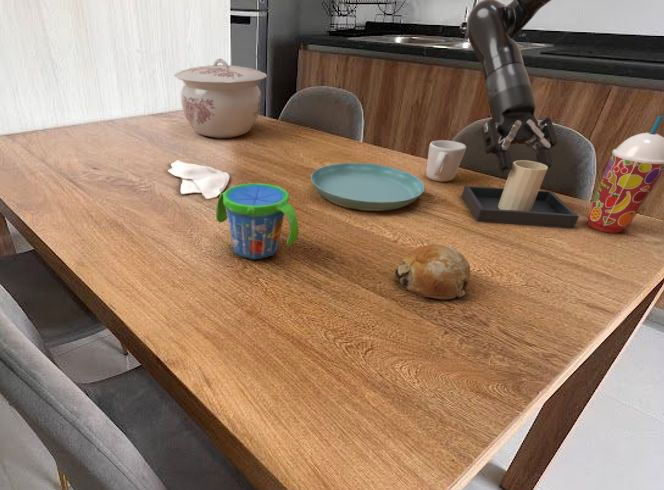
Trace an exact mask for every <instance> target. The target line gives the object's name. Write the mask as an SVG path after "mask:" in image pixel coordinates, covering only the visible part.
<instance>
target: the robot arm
mask: <svg viewBox="0 0 664 490" xmlns="http://www.w3.org/2000/svg"><path fill="white" fill-rule="evenodd" d="M551 1H552V0H511V2H510V3H508V4H504V3H503V2H500V1H499V0H481V1H479V2H478V3H476V5H474V6H473V8H472V9H471V10H470V12H469V14H468V17H467V21H466V34H467V38H468V41H469V44H470V45H471V48H472V49H473V51H474V53H475V56H476V57H477V59H478V61H479V63H480V65H481V68H482V75H483V78H484V83H485V93H486V98H487V102H488V107H489V111H490V116H491V118H490V119H489V120H488V121H487V122H486V123H484V124H483V125H482V126H481V128H480V129H481V135H482V141H483V142H482V143H483V147H484V152H485V153H486V154H487V155H488V154H493V155H494V156H495V157H496V161H497V165H498V169H499V170H500V171H501V173H502V174H507V173H508V172H510V170H511V169H512V168H513V166H512V164H513V162H512V158H511V153H510V150H508V149H509V147H510V145H514V144H518V145H523V144H524V145H525V146H526V147H527V148H529V149H530V148H531V149H532V151H534V152H535V153H536V155H535V156H536V162H539V163H542V164H545V165H546V166H548V169H550V168H551V167H552V164H553V160H552V156H551V151H550V150H551V149H552V148H553V147H555V146H557V145H558V144H559V141H558V138H557V133H556V131H555V128H554V125H553V121H552V119H551V117H549V116H547V117H545V118H544V119H539V120H538V119H537V118H536V116H535V111H536V107H537V106H536V105H537V104H536V101H535V97H534V93H533V89H532V85H531V81H530V76H529V74H528V71H527V69H526V66H525V63H524V59H523V54H522V51H521V48H520V46H519V44H518V43H517V42H516V41H515V40H514V39H513V38H515V37H516V36H517V35H518V34H519V33H520V32H521V31H522V30H523V28H525V26H526V25H528V23H529V22H530V21H531V20H532V19H533V18H534V17H535V16H536V14H537V13H538V12H539V10H540V9H542V8H543V7H544V6H546V5H547V4H548V3H550V2H551ZM498 134H499V136H500V137H498ZM533 137H535V138H533ZM532 138H533V139H532ZM539 144H540V145H539Z"/></svg>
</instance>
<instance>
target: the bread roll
mask: <svg viewBox="0 0 664 490" xmlns="http://www.w3.org/2000/svg"><path fill="white" fill-rule="evenodd" d="M398 264H399V265H398V267H397V269H395V271H394V274H395V276H396V277H397V279H399V283H400V284H401V285H402V286H403V287H404V288H405V289H407V290H408V291H409V292H410V293H411V292H412V293H413V294H415V295H418V296H419V297H420V298H431V299H436V300H445V301H446V300H453V299H455V298H462V297H464V296H465V295H466V291H465V288H466V287H467V286H468V283H469V280H470V276H471V266H470V263H469V261H468V260H467V258H466V256H465V255H464V254H463V253H461V252H460V251H458V249H457V248H456V247H454V246H447V245H445V244H427V245H422V246H419V247H416V248H415V249H413V250H412V251H410V252H409V253H408V254H406V255H405V256H402V257H401V258H400V261H399V263H398Z"/></svg>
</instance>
